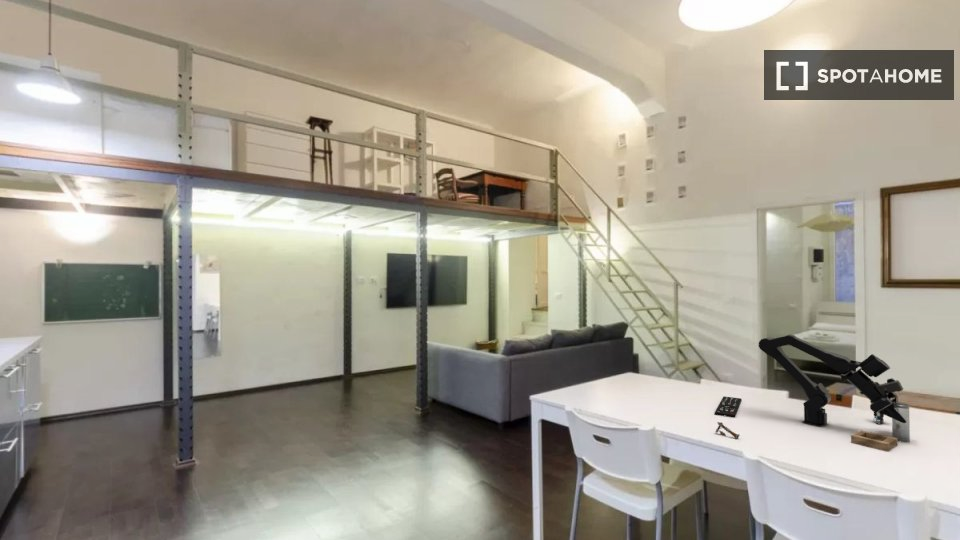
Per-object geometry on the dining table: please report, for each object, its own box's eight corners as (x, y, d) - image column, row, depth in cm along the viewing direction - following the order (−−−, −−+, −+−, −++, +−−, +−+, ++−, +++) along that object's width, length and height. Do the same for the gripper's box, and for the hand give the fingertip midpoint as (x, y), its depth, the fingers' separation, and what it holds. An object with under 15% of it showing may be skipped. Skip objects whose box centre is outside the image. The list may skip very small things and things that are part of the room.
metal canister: (890, 439, 162) (889, 403, 162) (894, 436, 164) (893, 401, 165) (907, 443, 158) (907, 406, 158) (911, 440, 160) (911, 404, 161)
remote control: (714, 416, 191) (714, 411, 191) (723, 399, 218) (723, 395, 218) (734, 419, 187) (734, 414, 187) (741, 401, 213) (741, 397, 213)
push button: (887, 426, 176) (886, 400, 176) (869, 423, 180) (868, 398, 180) (888, 422, 181) (887, 397, 181) (870, 419, 184) (870, 395, 185)
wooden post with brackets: (714, 429, 170) (719, 419, 169) (735, 444, 164) (740, 434, 163) (712, 430, 169) (717, 420, 168) (732, 445, 163) (737, 435, 162)
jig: (851, 442, 159) (851, 435, 159) (861, 437, 164) (861, 430, 164) (888, 451, 150) (887, 444, 150) (897, 445, 156) (897, 438, 156)
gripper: (881, 375, 158) (926, 413, 150) (888, 368, 171) (929, 403, 162) (853, 393, 164) (894, 431, 155) (861, 385, 176) (900, 420, 168)
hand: (905, 421), depth 160 cm, fingers closed on metal canister, 5 cm apart
